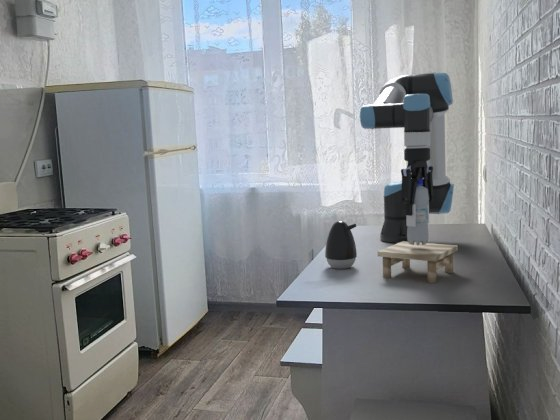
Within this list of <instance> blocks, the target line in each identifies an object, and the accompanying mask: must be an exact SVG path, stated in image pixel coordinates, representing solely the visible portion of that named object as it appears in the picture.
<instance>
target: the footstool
mask: <svg viewBox="0 0 560 420" xmlns="http://www.w3.org/2000/svg"><path fill="white" fill-rule="evenodd" d="M458 247H459V246H458V245H457V244H454V245H453V244H441V243H429V242H427V244H425V245H422V243H421V242H420V244H419V245H417V244H416V242H414V245H411V244H409V243H408V242H405V241H402V242H400V243H395V244H392V245H389V246H388V247H385V248H383V249H380V250H377V257H381V258H382V278H384V279H390V278H392V266H394V265H397V264H398V263H401V264H402V265H401V268H403V269H410V268H411V260H414V261H422V262H423V261H425V262H426V263H427V265H426V266H427V283H429V284H436V283H437V271H438V270H440V269H441V268H444V272H445V273H446V272H447V273H448V274H451V273H452V274H453V273H454V253H456V252H458V251H459V249H458Z"/></svg>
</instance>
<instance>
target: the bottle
mask: <svg viewBox="0 0 560 420" xmlns="http://www.w3.org/2000/svg"><path fill="white" fill-rule="evenodd" d="M421 185H423V180H422V179H421V178H420V179H419V182H418V183H417V187H416V193H415V199H414V204H416V226H415V227H412V226H408V228H407V240H408V243H409V244H411V245H414V242H416V244H417V245H419V244H420V243H422V245H425V244H427V243H429V238H430V234H429V223H428V204H429V196H428V189H427V188H425V187H423V186H421ZM410 200H411V199H410Z"/></svg>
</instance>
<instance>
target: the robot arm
mask: <svg viewBox="0 0 560 420" xmlns="http://www.w3.org/2000/svg"><path fill="white" fill-rule="evenodd" d="M453 100H454V99H453V89H452V84H451V79H450V76H449V75H448V74H447V73H446V72H436V71H435V72H425V73H414V74H403V75H400V76H398V77H395V78H393V79H390V80H389V81H387V82H386V83H385V84H384V85H382V87H381V88H380V91H379V95H378V98H377V99H376V100H375V101H374V103H373V104H370V103H369V104H364V105H362V106H361V108H360V109H359V110H360V111H359V118H360V119H359V120H360V121H359V122H360V125H361V128H363V129H365V130H376V129H378V130H379V129H396V128H397V129H398V128H399V129H400V128H402V129H403V140H404V142H403V144H404V147H405V148H404V149H403V150H404V151H403V152H404V153H403V159H404V161H405V162H407V165H406V168H402V169H401V170H400V173H401V181H395V182H391V183H387V184H386V185H384V187H383V203H384V204H383V209H384V210H383V211H384V212H383V214H384V215H383V216H384V219H383V224H382V228H381V231H380V234H379V235H380V236H379V239H380V241H381V242H385V243H395V244H397V243H400V242H402V241H405V242H408V240H407V228H408V226H412V227H415V226H416V204H414V199H415V193H416V187H417V183H418V182H419V179H420V178H421V179H422V180H423V185H421V186H423V187H425V188H427V189H428V196H429V204H428V224H430V215H435V214H436V215H440V214H441V215H442V214H448V213H450V212H451V210H452V202H453V194H454V187H455V185H454V184H453V183H451V180H450V177H448V176H447V170H446V166H447V165H446V133H445V132H446V131H445V129H446V127H445V125H446V123H445V121H446V120H445V118H446V117H445V114H446V113H447V112H448V111H449V108H450V106H451V105H453V102H454V101H453ZM410 199H411V200H410Z"/></svg>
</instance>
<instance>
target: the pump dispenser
mask: <svg viewBox="0 0 560 420" xmlns="http://www.w3.org/2000/svg"><path fill="white" fill-rule="evenodd" d="M355 228H357V223H353V224H350V225H349V224H348V223H346V222H345V221H343V220H338V221H335V222H334V223H333V224H332V226H331V228H330V229H329V232H328V235H327V238H326V243H325V252H324V257H325V258H326V261H327V264H328V265H329V267H331V268H333V269H335V270H347V269H349V268H351V267H352V266H353V265H354V264H355V262H356V260H357V259H356V258H357V257H358V252H357V245H356V241H355V238H354V235H353V232H352V230H353V229H355Z"/></svg>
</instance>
